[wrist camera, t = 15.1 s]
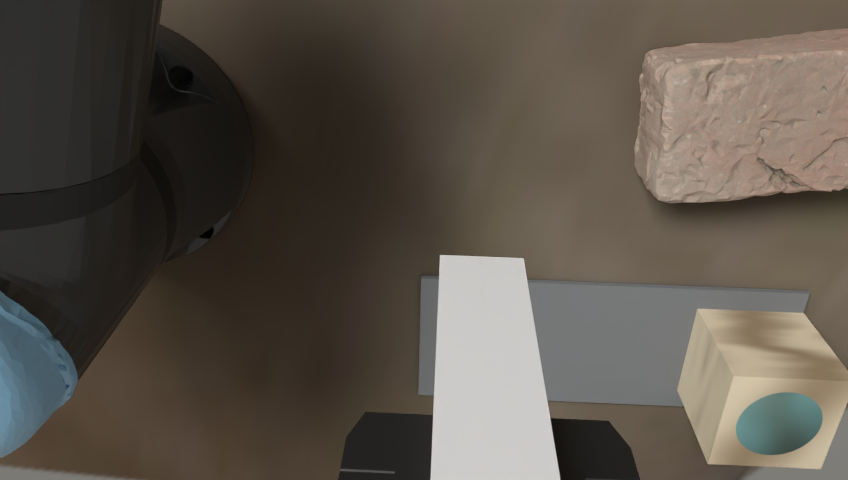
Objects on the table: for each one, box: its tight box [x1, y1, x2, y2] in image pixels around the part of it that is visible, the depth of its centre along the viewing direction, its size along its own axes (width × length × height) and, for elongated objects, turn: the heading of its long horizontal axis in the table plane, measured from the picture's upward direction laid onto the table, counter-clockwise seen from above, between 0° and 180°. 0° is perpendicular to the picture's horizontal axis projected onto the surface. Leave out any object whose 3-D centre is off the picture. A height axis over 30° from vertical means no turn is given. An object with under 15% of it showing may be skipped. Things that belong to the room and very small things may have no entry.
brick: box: [634, 28, 848, 203], centre depth 39 cm, size 17×8×5 cm, turn 96°
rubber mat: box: [418, 275, 810, 407], centre depth 49 cm, size 26×10×1 cm, turn 89°
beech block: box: [677, 309, 848, 469], centre depth 46 cm, size 7×7×7 cm
